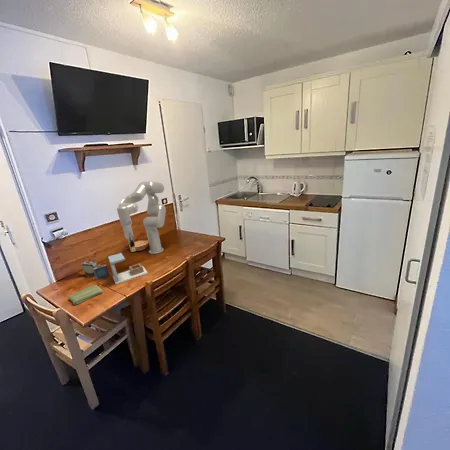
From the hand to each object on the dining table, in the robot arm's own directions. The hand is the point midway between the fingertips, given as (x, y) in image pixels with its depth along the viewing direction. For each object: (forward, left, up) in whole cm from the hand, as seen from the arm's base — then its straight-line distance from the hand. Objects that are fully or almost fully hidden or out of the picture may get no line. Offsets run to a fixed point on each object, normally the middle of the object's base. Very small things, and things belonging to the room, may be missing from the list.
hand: (132, 245), depth 187 cm
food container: (-13, -29, -18) cm, 37 cm away
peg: (0, 0, -4) cm, 4 cm away
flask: (-1, -24, -18) cm, 30 cm away
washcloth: (+18, -37, -19) cm, 45 cm away
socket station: (+10, -7, -18) cm, 22 cm away
